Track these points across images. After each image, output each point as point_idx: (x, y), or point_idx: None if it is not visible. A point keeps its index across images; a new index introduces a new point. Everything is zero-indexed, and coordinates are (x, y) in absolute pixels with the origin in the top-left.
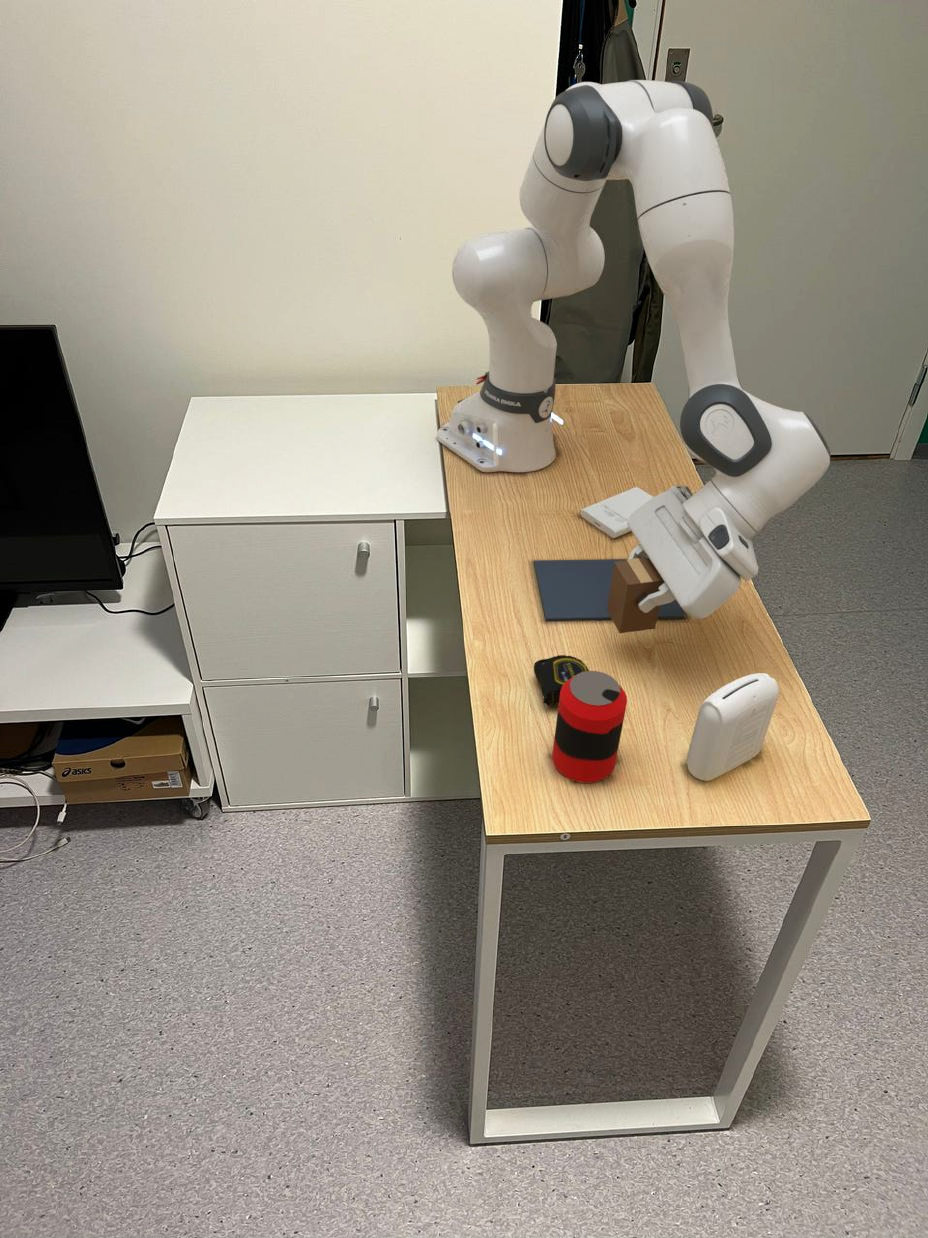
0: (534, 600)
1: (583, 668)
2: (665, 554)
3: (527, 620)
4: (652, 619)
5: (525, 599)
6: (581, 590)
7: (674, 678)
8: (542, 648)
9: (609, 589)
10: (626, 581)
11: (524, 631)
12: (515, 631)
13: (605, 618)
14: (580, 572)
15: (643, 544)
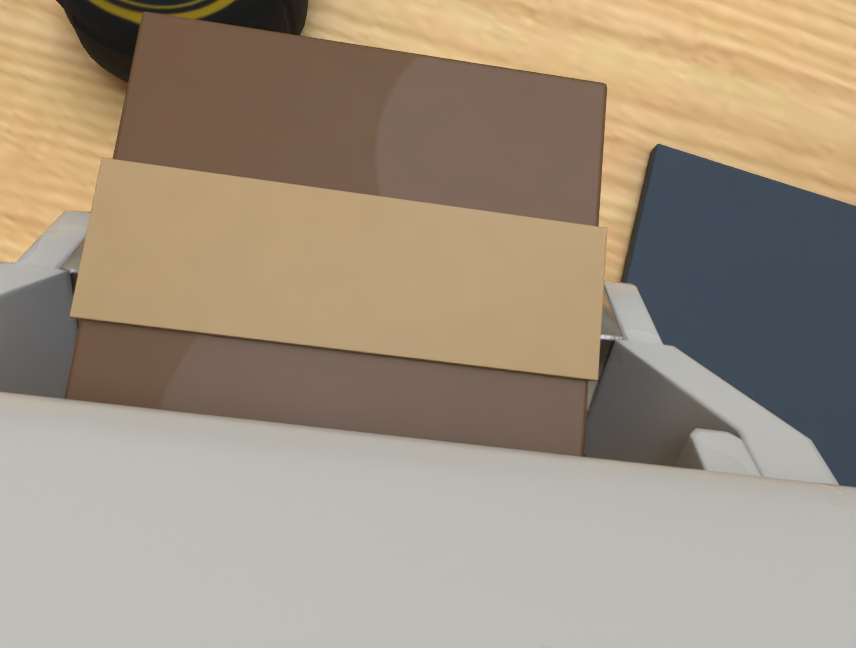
0: (798, 166)
1: (146, 11)
2: (179, 625)
3: (674, 81)
4: None
5: (812, 133)
6: (816, 389)
7: None
8: (483, 60)
9: None
10: (205, 22)
11: (608, 39)
12: (618, 6)
13: None
14: None
15: (763, 489)
